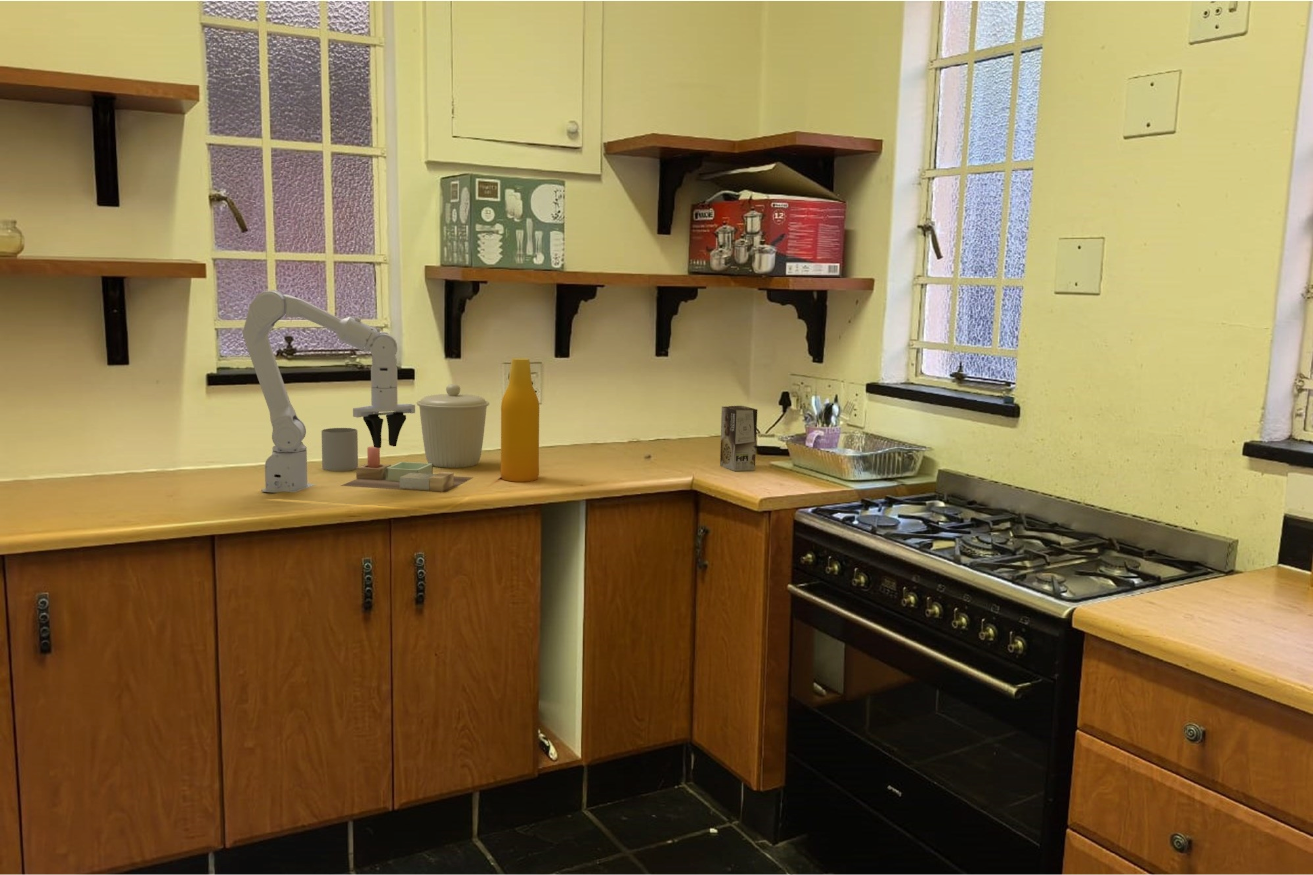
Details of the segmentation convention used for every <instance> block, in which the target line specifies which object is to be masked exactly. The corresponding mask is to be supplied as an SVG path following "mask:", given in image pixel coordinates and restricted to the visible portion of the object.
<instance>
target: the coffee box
mask: <svg viewBox="0 0 1313 875" xmlns="http://www.w3.org/2000/svg"><path fill="white" fill-rule="evenodd" d="M758 411H759V410H758V409H757V408H753V407H750V406H744V405H728V406H721V418H720V420H721V421H720V424H721V425H720V453H719V454H720V455H719V456H720V457H719V460H720V462H719V466H721V467H723V468H725V469H729V470H730V471H733V472H743V471H747V472H749V471H755V470H756V456H757V453H756V452H757V451H756V450H757V449H756V448H757V430H758V429H757V427H758Z"/></svg>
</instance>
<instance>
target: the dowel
mask: <svg viewBox="0 0 1313 875" xmlns="http://www.w3.org/2000/svg"><path fill="white" fill-rule="evenodd" d="M380 450H381V448H376V447H374V446H367V450H366V452H367V463H368V467H370V468H379V467H380V463H381V458H380V457H381V453H380Z"/></svg>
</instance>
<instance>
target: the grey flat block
mask: <svg viewBox="0 0 1313 875" xmlns="http://www.w3.org/2000/svg"><path fill="white" fill-rule="evenodd" d="M436 474H437V473H433V474H422V473H409V474H406V475H404V476H402V477H400V488H401V489H417V490H430V477H432V476H434V475H436Z"/></svg>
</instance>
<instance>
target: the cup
mask: <svg viewBox="0 0 1313 875" xmlns="http://www.w3.org/2000/svg"><path fill="white" fill-rule="evenodd" d="M358 440H359V438H358V429H357V428H350V427H332V428H331V427H330V428H324V429H322V430H321V464H322V466H321V467H322V468H321V469H323V471H329V472H348V471H355V470H356V468H357V467H359V450H358V449H359V448H358V447H359V446H358V442H359V441H358Z"/></svg>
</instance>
